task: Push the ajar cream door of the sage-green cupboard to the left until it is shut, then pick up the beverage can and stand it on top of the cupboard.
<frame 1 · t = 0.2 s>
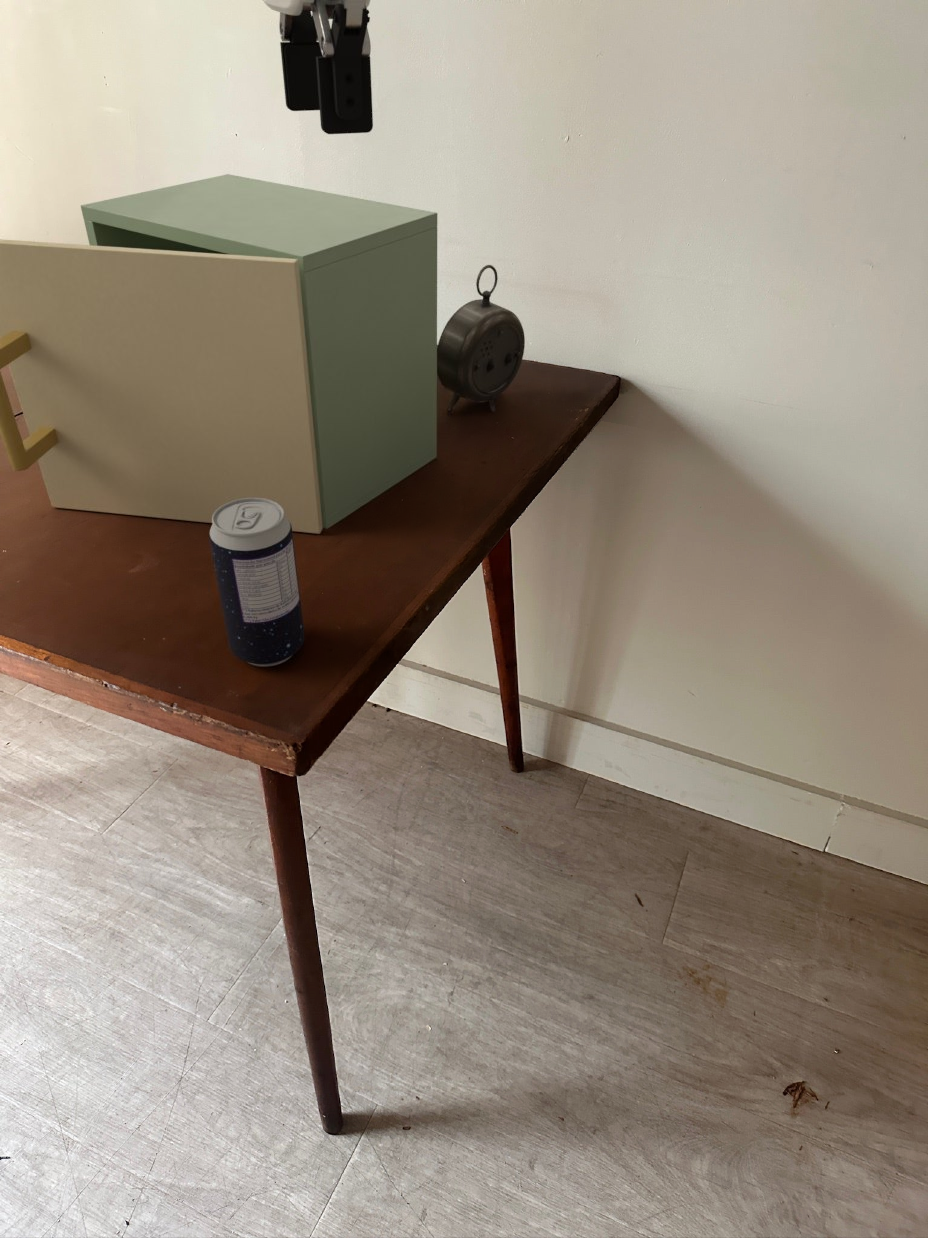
hand: (327, 120, 58), 34 cm above the table, tool pointing down, fingers open, 9 cm apart
cupboard door: (147, 410, 72), point 12 cm above the table, hinge at 25.0°
beverage can: (268, 651, 67), on the table
alarm clock: (481, 407, 104), on the table
onion: (147, 380, 108), on the table
cupboard: (287, 455, 92), on the table
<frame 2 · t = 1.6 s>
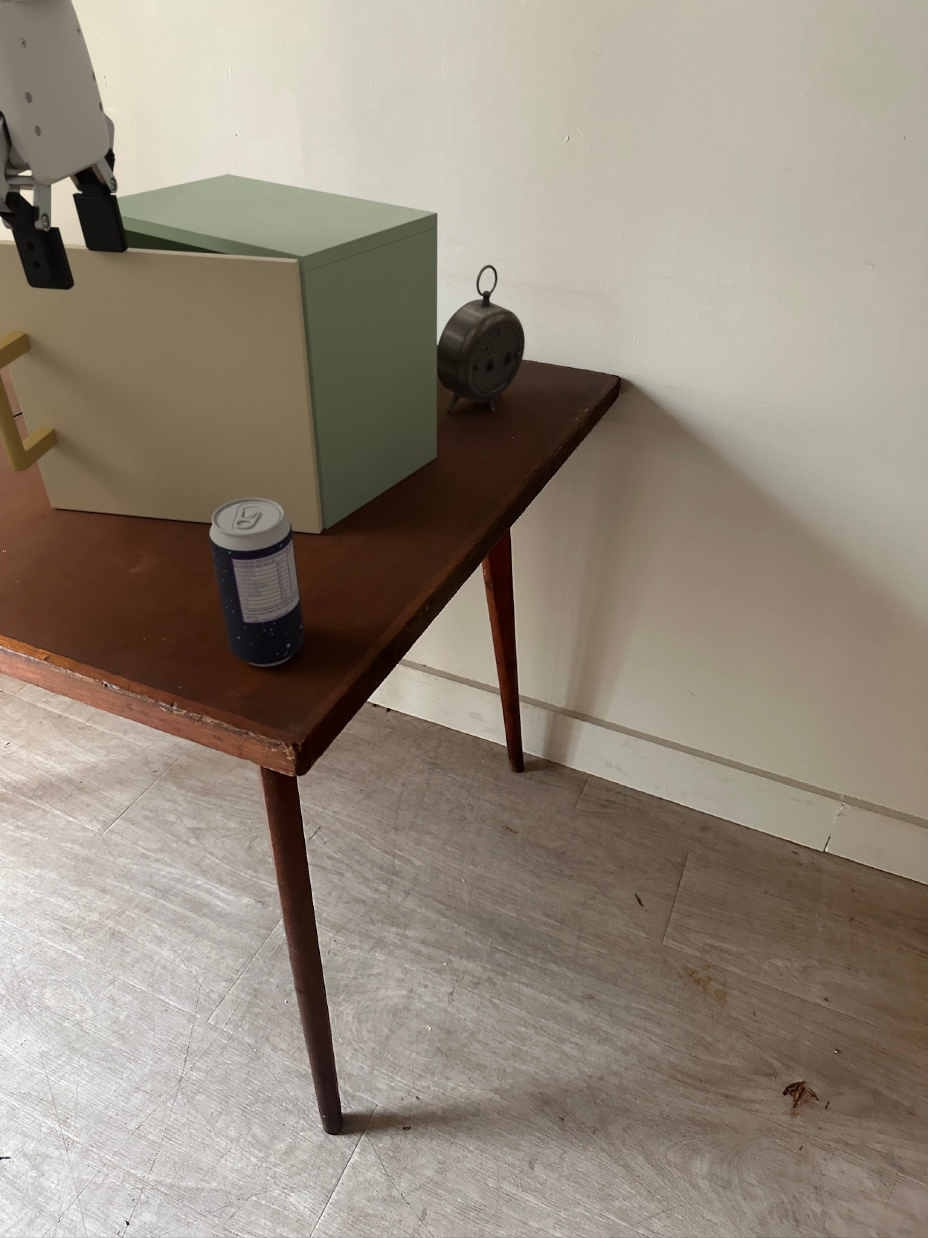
hand: (81, 266, 63), 24 cm above the table, tool pointing down, fingers open, 7 cm apart
cupboard door: (146, 410, 72), point 12 cm above the table, hinge at 25.3°, touching gripper
everything else where it was.
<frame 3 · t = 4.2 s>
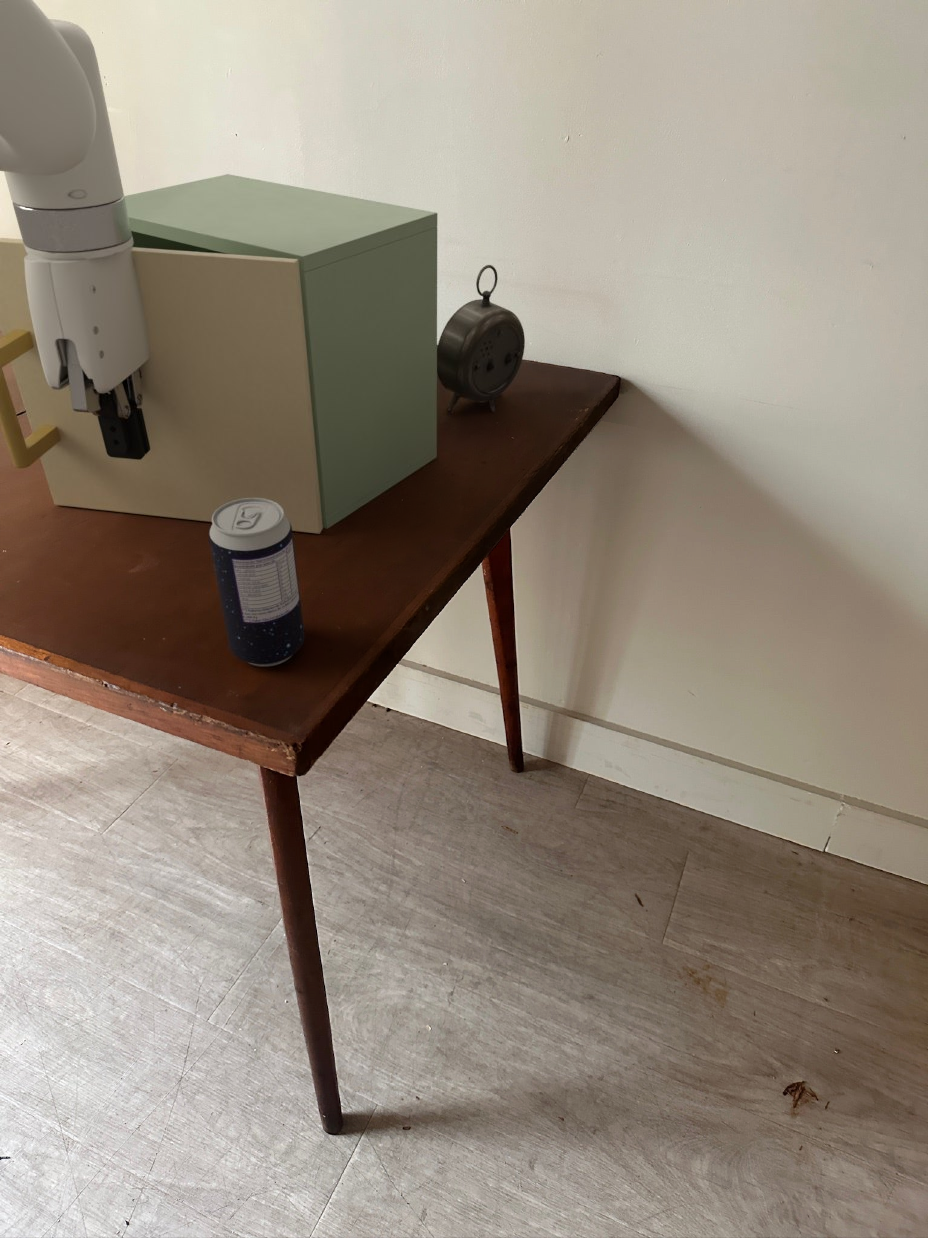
hand: (129, 453, 74), 8 cm above the table, tool pointing down, fingers closed
cupboard door: (147, 409, 72), point 12 cm above the table, hinge at 24.0°, touching gripper
everything else where it was.
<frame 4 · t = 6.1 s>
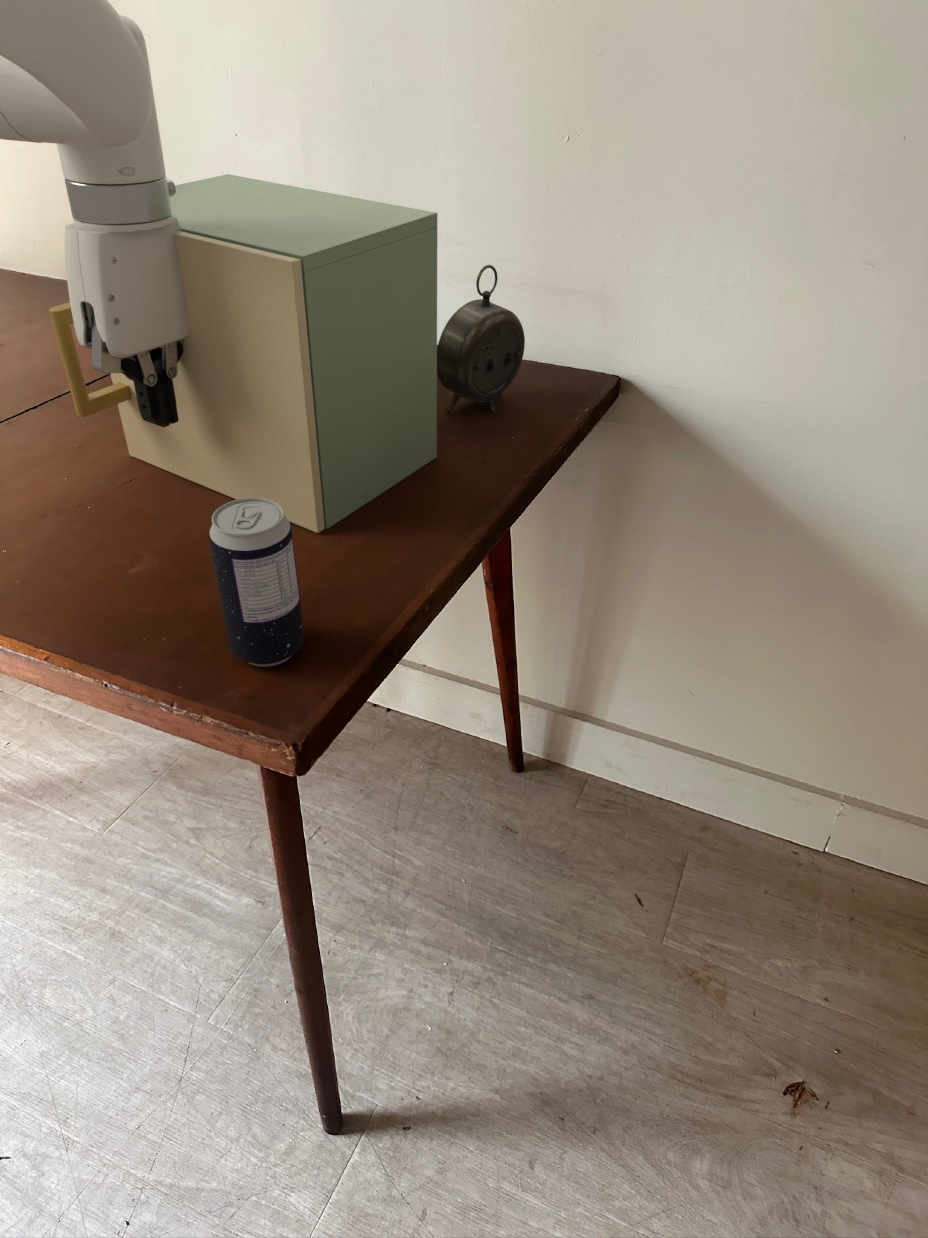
hand: (160, 420, 79), 8 cm above the table, tool pointing down, fingers closed
cupboard door: (176, 382, 77), point 12 cm above the table, hinge at -0.5°, touching cupboard, gripper
everything else where it was.
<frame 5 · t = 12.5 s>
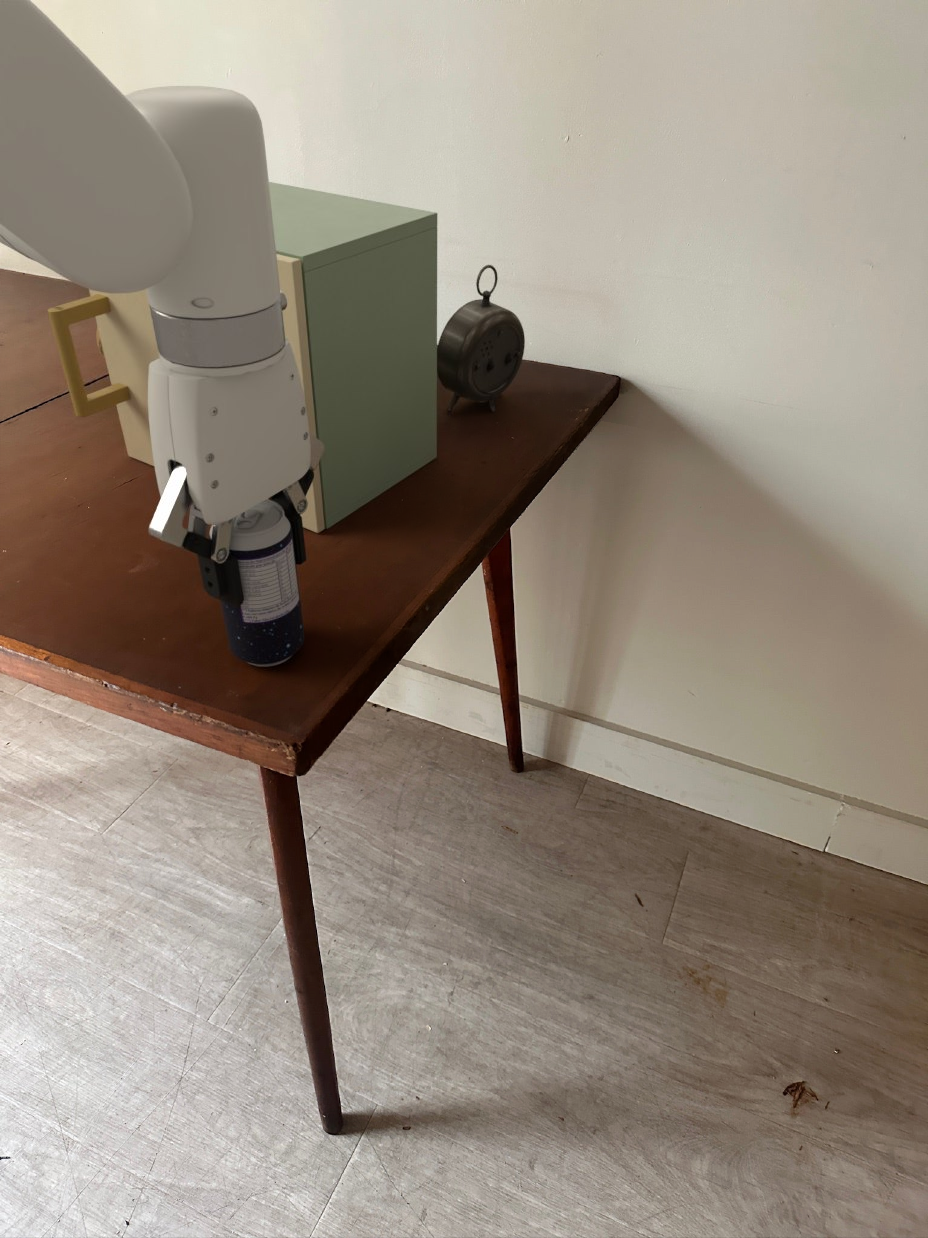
hand: (257, 575, 63), 7 cm above the table, tool pointing down, fingers closed on beverage can, 5 cm apart
cupboard door: (176, 383, 77), point 12 cm above the table, hinge at -0.2°
beverage can: (268, 651, 67), on the table, touching gripper
everything else where it was.
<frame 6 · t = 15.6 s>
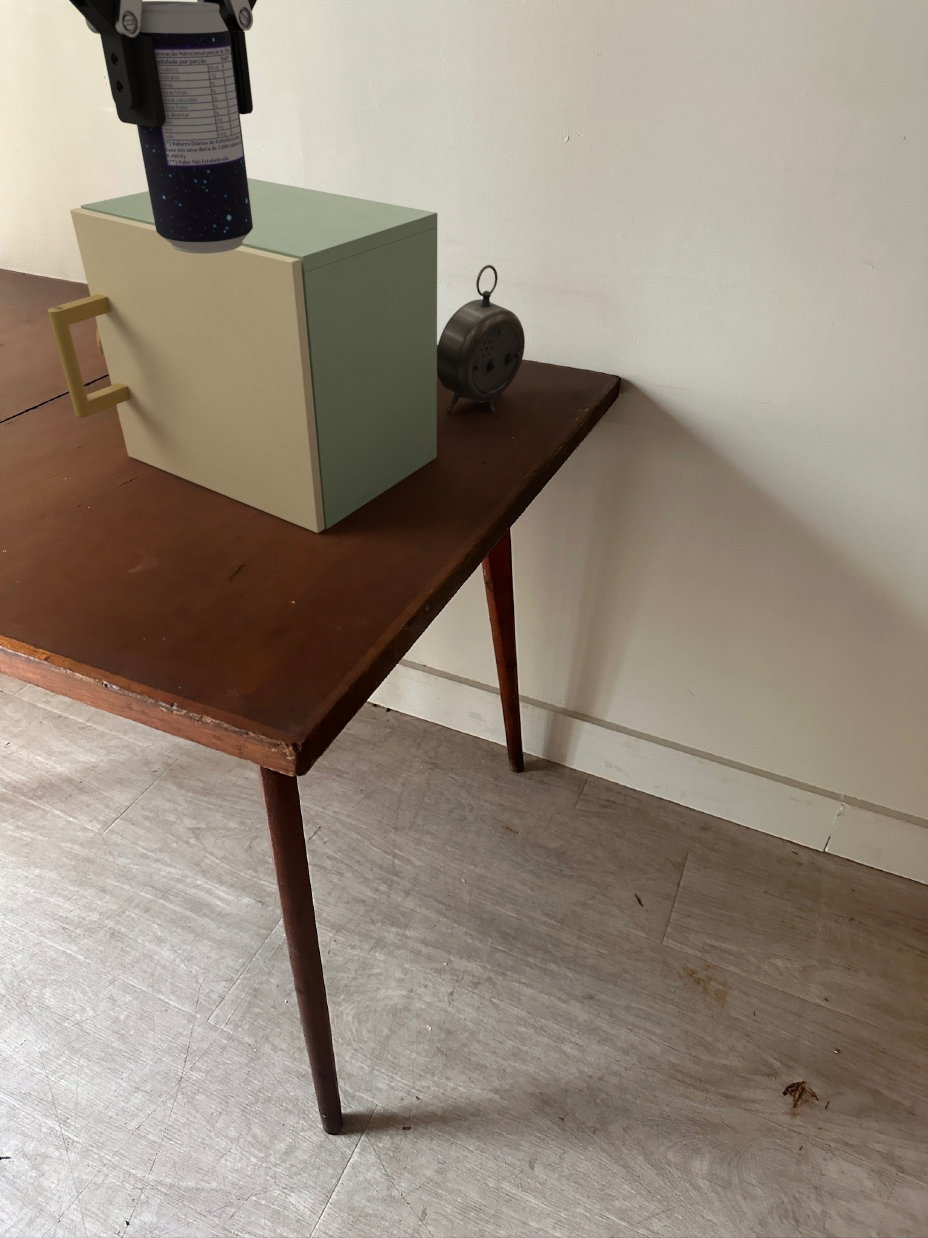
hand: (187, 113, 49), 35 cm above the table, tool pointing down, fingers closed on beverage can, 5 cm apart
beverage can: (208, 247, 53), point 28 cm above the table, touching gripper
everything else where it was.
when the fingers open (31 cm above the table, at t = 19.0 s): beverage can stays where it is, resting on cupboard.
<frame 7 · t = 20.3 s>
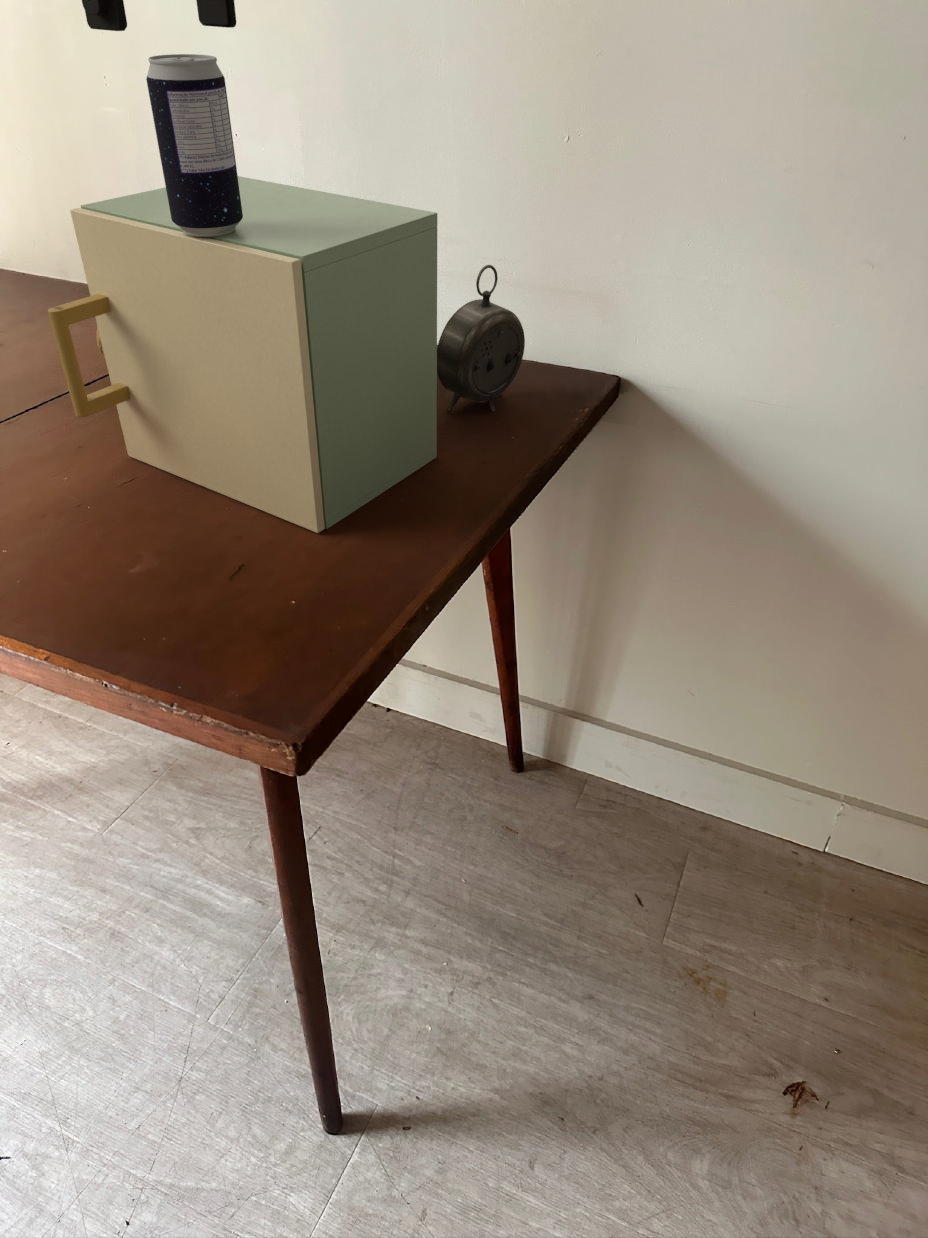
hand: (166, 27, 60), 38 cm above the table, tool pointing down, fingers open, 9 cm apart
beverage can: (209, 232, 71), point 24 cm above the table, touching cupboard
everything else where it was.
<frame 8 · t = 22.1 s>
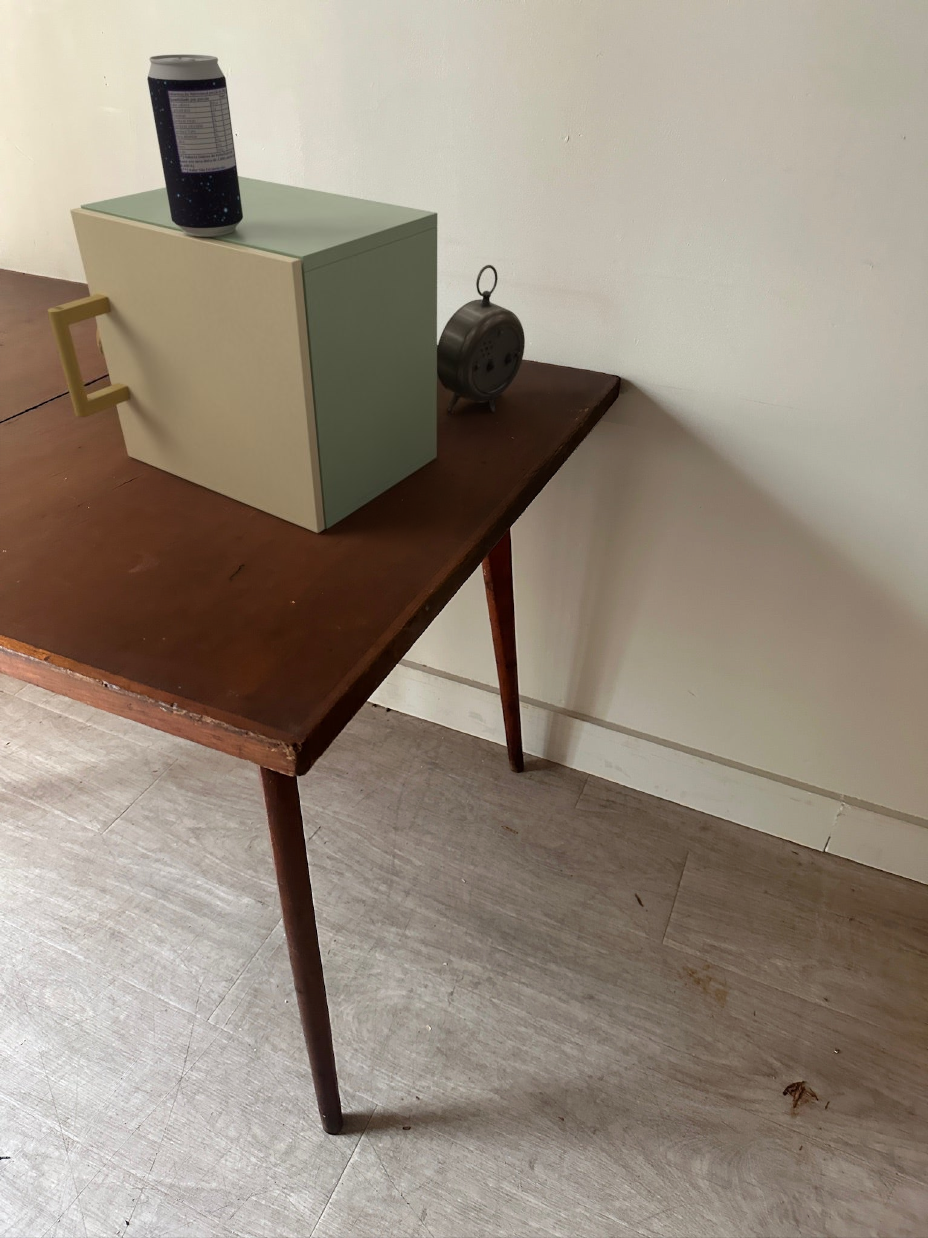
nothing on the table moved.
at the end: cupboard door at +0° (first picture: +25°); beverage can inside the target area on the cupboard (7.8 cm from its centre), point 24.2 cm above the cupboard's base; beverage can tilted 0° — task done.
